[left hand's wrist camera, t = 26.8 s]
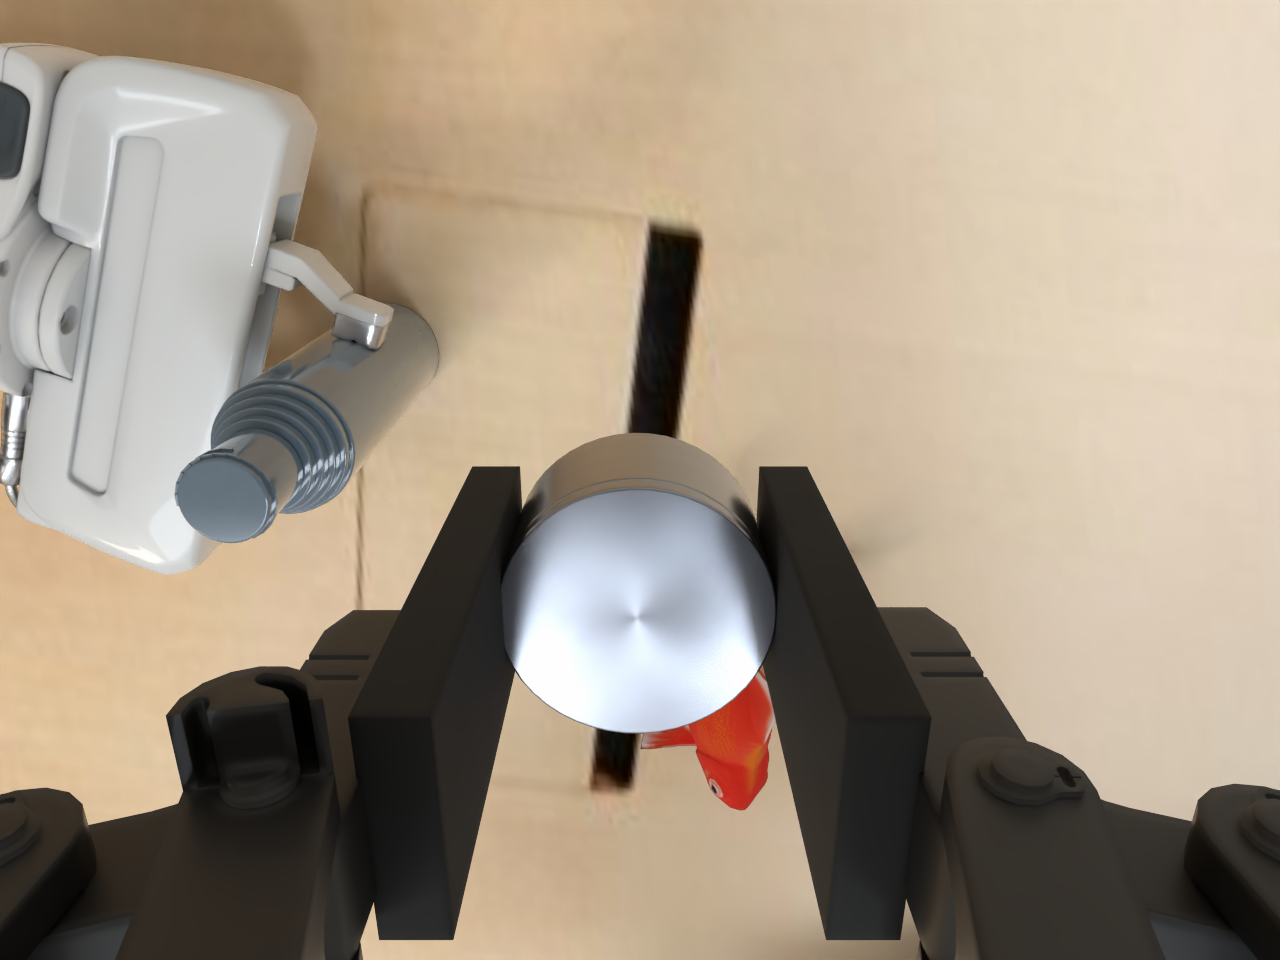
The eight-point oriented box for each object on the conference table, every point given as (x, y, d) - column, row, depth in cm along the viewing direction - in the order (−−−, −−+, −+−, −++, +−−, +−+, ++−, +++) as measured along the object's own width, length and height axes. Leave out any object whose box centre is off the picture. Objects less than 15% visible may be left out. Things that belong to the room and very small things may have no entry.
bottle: (436, 303, 42) (295, 426, 25) (442, 400, 44) (314, 577, 26) (335, 301, 42) (124, 422, 25) (345, 398, 44) (154, 574, 26)
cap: (606, 383, 14) (599, 431, 11) (806, 519, 14) (835, 588, 12) (471, 570, 15) (443, 646, 13) (664, 687, 16) (668, 777, 13)
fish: (556, 774, 46) (637, 847, 37) (606, 474, 47) (697, 474, 38) (734, 782, 50) (846, 849, 41) (776, 508, 51) (894, 515, 42)
